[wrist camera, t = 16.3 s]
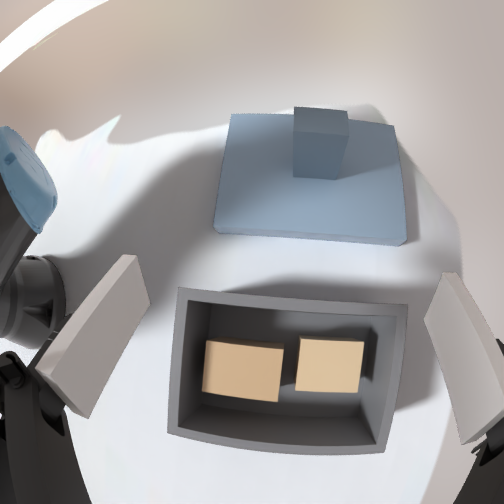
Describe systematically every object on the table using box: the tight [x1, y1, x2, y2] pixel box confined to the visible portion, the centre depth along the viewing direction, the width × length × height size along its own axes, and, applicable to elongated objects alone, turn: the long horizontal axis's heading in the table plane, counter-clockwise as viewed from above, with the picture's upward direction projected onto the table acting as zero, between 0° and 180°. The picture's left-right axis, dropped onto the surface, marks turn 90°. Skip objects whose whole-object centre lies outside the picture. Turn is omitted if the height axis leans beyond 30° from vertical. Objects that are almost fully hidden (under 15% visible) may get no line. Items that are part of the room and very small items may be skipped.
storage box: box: [167, 287, 408, 455], centre depth 26 cm, size 20×14×9 cm
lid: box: [213, 107, 407, 246], centre depth 29 cm, size 22×16×12 cm
